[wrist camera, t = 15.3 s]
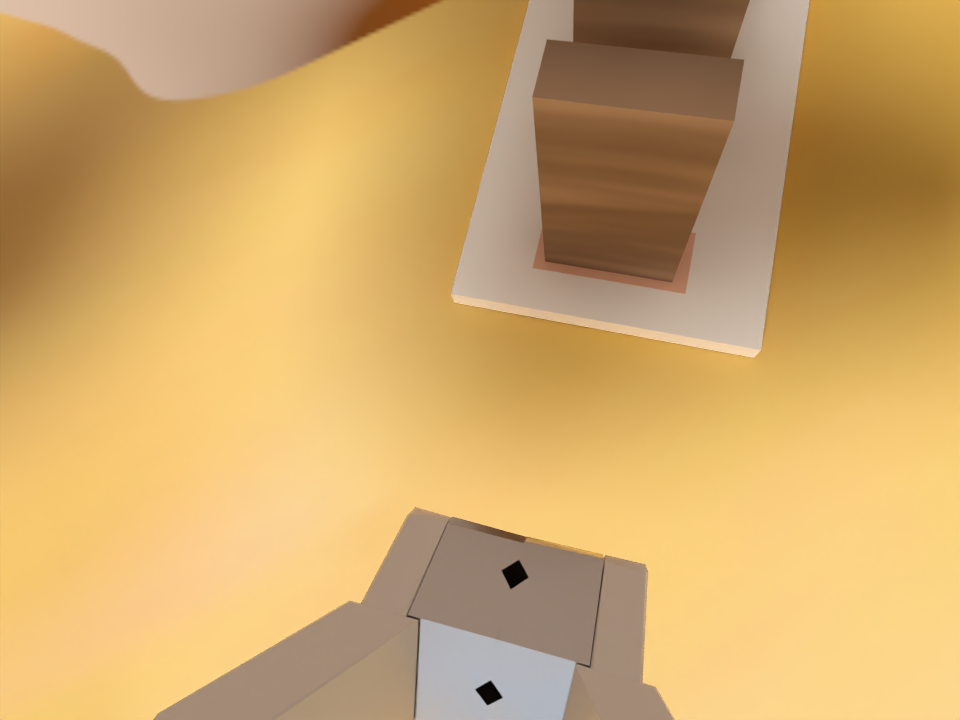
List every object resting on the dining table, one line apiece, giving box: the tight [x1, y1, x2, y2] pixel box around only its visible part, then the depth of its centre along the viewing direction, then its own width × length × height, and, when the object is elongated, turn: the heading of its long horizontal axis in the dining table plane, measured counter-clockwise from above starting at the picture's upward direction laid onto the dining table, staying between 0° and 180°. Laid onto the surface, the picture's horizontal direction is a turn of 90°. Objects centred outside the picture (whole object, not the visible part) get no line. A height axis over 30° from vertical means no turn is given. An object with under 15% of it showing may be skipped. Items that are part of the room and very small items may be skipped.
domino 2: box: [532, 39, 744, 282], centre depth 21 cm, size 2×5×10 cm, turn 77°
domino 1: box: [573, 0, 750, 58], centre depth 23 cm, size 2×5×10 cm, turn 76°
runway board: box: [451, 0, 810, 358], centre depth 29 cm, size 12×26×1 cm, turn 167°
